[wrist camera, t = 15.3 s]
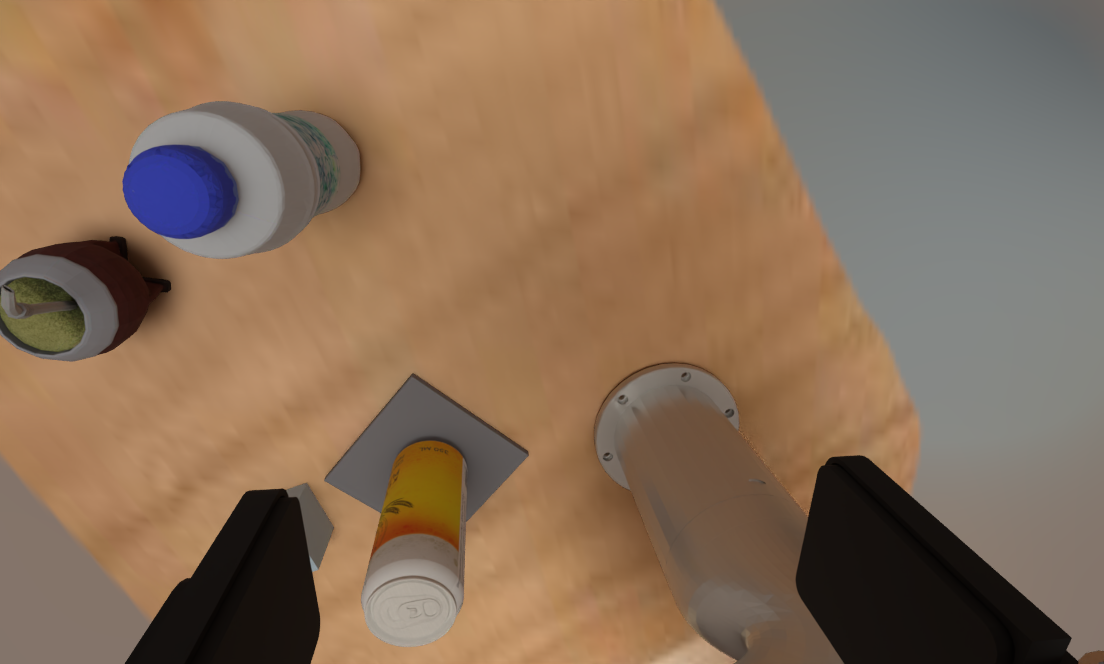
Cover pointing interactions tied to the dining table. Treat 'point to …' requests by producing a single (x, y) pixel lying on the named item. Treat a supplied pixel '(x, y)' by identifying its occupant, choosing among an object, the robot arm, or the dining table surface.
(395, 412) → the coaster
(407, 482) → the beer can
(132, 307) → the mate gourd
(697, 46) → the dining table surface
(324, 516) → the letter block
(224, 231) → the bottle
